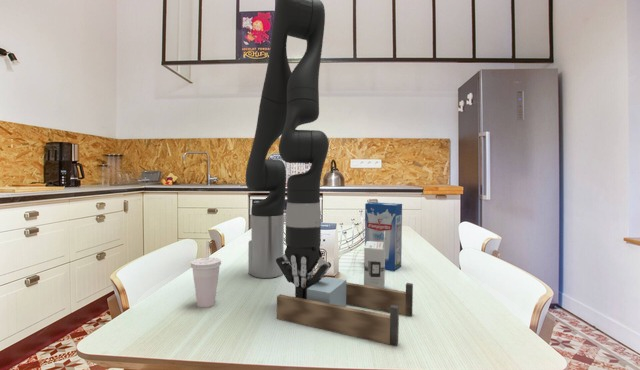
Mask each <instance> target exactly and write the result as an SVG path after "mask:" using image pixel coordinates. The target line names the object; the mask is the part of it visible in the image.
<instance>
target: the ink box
mask: <svg viewBox="0 0 640 370" xmlns="http://www.w3.org/2000/svg"><path fill="white" fill-rule="evenodd" d="M363 248H364V249H363V250H364V252H363V253H364V256H363V257H364V258H363V261H364V262H363V266H364V267H363V285H366V286H373V287H379V288H385V280H386V276H385V275H386V274H385V273H386V270H385V231H384V242H374V241H367V242H366V244H365V243H364V247H363Z"/></svg>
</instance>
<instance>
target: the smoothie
mask: <svg viewBox="0 0 640 370" xmlns="http://www.w3.org/2000/svg"><path fill="white" fill-rule="evenodd" d="M205 243H206V244H205V245H206V247H205V248H206V251H205V252H206V253H205V254H206V256H205V257H201V258H200V257H199V258H195V259H193V260H191V261H190V268H191V269H192V275H193V282H194V289H195V297H196V298H195V299H196V305H197V307H198V308H210V307H213V306H214V305H215V304H216V297H217V290H218V281H219V273H220V266H221V265H222V260H221V259H220V258H218V257H211V256H210V240H206V241H205Z"/></svg>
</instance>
